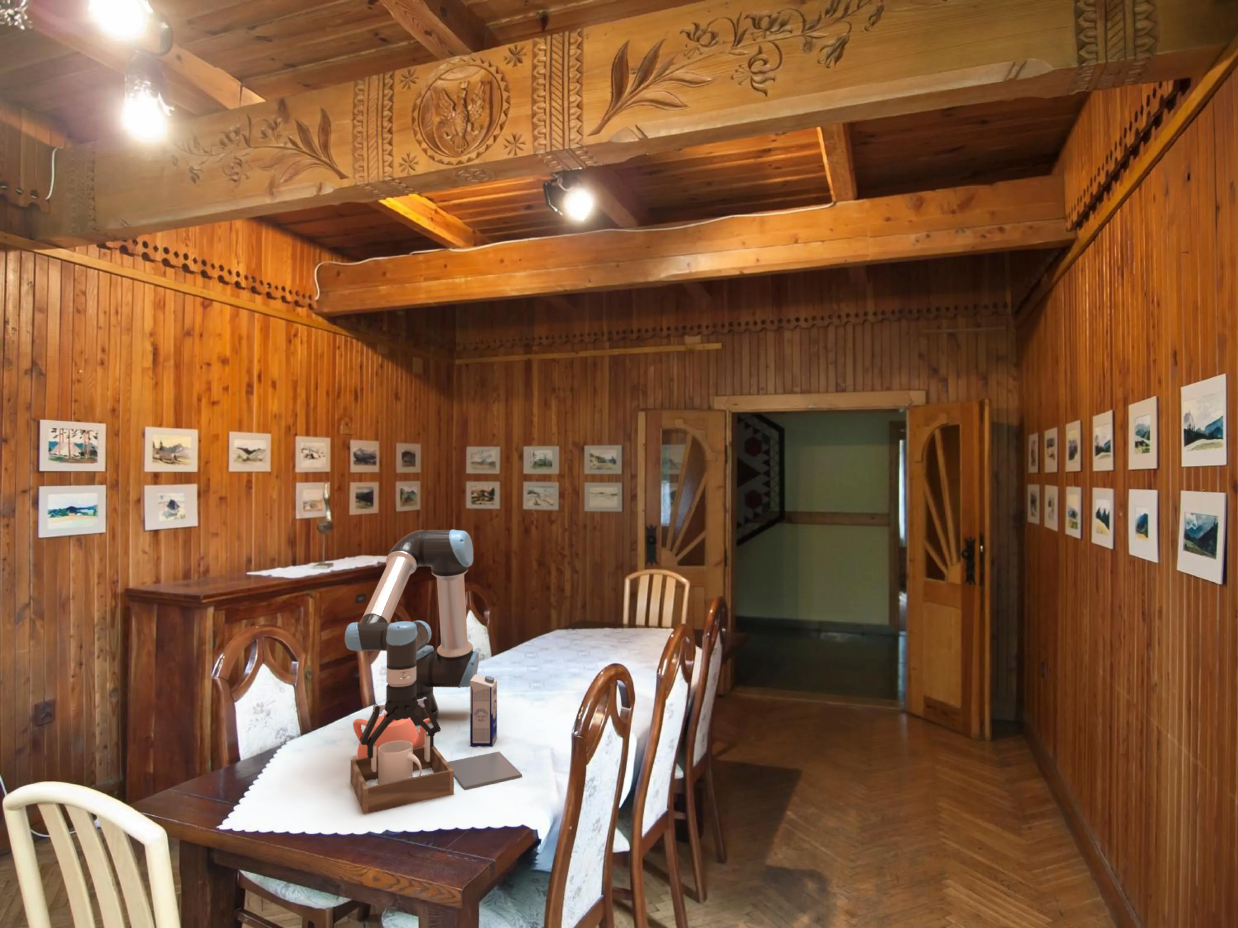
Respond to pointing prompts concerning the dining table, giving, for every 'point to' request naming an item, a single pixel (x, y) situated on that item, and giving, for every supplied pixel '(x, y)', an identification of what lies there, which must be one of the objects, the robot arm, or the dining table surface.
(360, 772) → the walnut caddy
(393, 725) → the teapot
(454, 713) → the dining table surface
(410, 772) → the mug
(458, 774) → the slate trivet
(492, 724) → the milk carton
